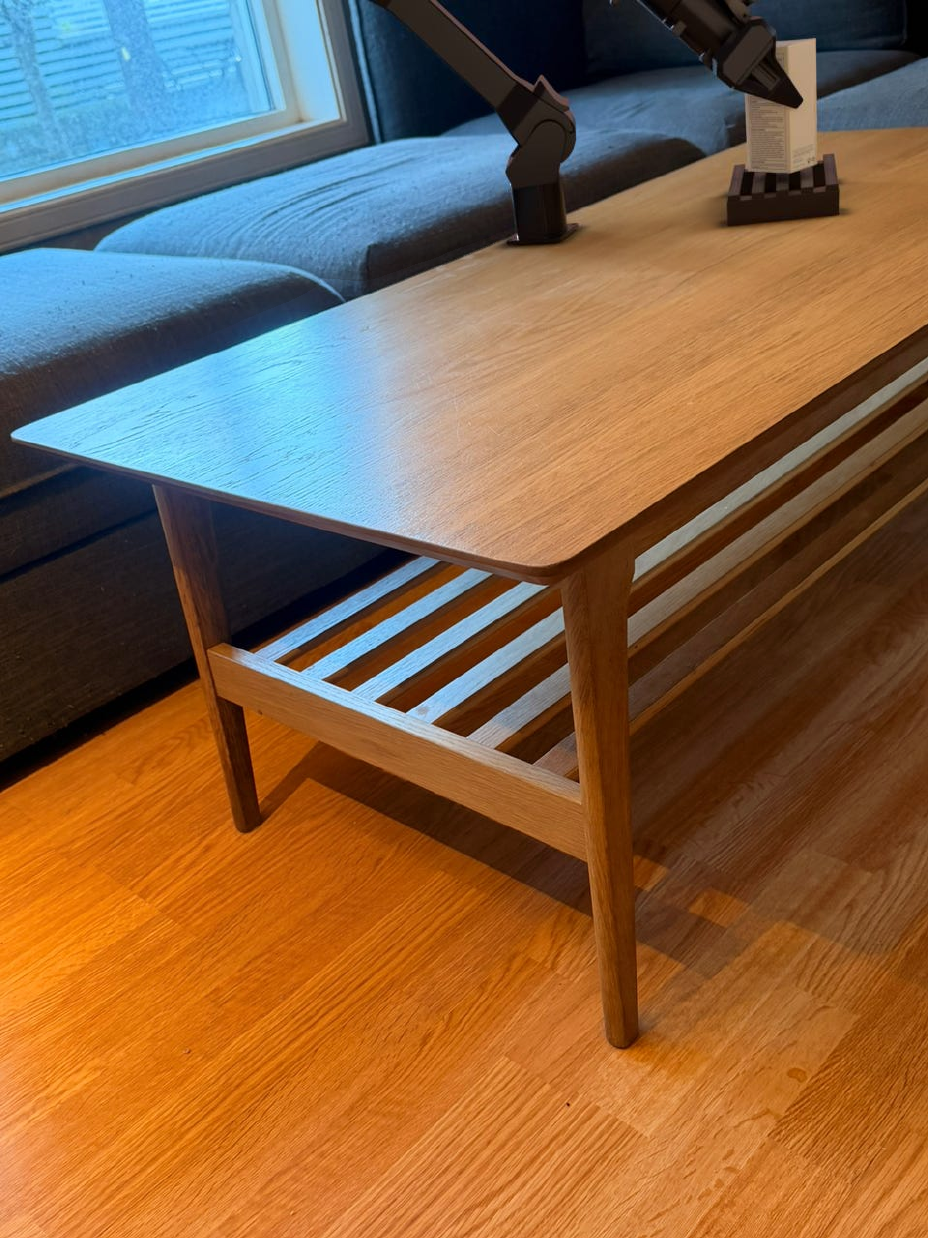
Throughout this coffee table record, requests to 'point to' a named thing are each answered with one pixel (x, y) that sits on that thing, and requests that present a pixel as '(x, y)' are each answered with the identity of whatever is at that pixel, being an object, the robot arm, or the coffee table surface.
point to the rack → (783, 194)
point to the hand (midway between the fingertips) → (793, 99)
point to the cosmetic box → (785, 116)
